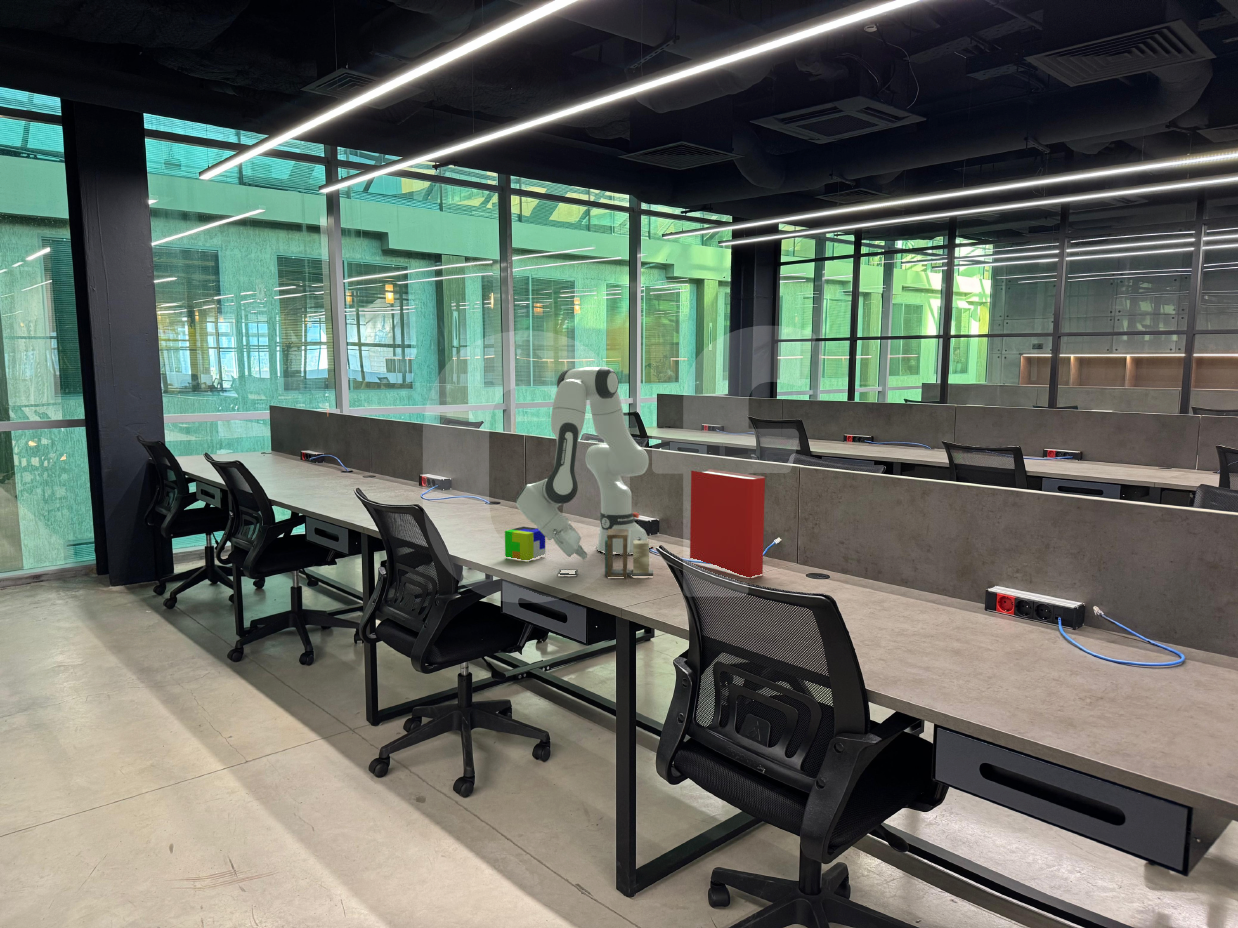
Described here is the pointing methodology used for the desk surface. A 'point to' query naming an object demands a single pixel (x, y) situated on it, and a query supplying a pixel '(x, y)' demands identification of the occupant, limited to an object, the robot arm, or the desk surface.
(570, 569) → the tray
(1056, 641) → the desk surface
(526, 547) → the puzzle toy
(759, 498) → the book
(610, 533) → the tunnel
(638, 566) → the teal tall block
